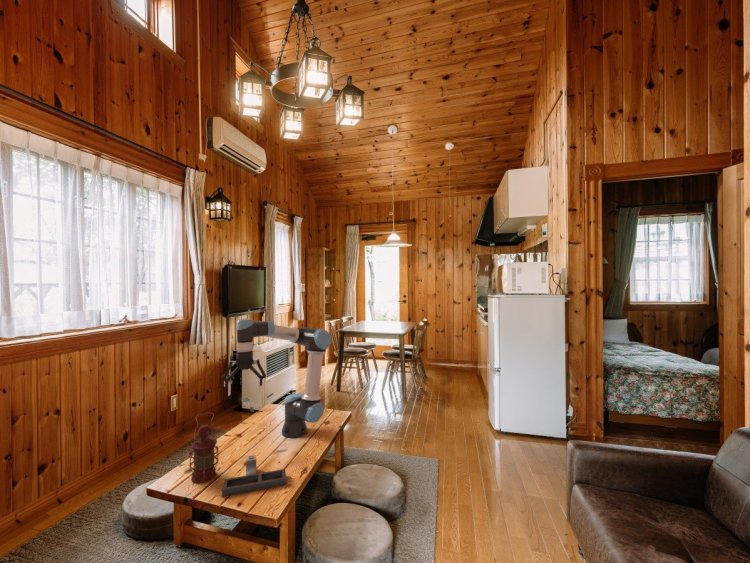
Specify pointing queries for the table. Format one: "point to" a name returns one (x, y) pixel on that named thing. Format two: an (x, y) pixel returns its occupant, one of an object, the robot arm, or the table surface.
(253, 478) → the dark grey divided frame
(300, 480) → the table surface
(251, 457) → the block
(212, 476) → the lantern
